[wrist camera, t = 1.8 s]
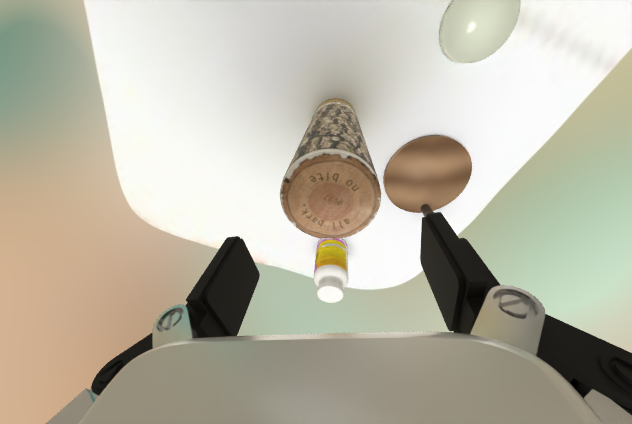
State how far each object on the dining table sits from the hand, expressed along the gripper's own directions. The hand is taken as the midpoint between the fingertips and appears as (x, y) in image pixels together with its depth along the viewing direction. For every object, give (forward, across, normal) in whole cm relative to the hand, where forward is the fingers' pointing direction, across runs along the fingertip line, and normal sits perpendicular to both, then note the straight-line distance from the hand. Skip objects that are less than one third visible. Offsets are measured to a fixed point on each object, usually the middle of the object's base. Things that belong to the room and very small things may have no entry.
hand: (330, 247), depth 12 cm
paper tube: (+30, 0, -1) cm, 30 cm away
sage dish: (+29, -19, -9) cm, 36 cm away
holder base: (+29, -14, +11) cm, 34 cm away
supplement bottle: (+30, +5, +25) cm, 39 cm away
